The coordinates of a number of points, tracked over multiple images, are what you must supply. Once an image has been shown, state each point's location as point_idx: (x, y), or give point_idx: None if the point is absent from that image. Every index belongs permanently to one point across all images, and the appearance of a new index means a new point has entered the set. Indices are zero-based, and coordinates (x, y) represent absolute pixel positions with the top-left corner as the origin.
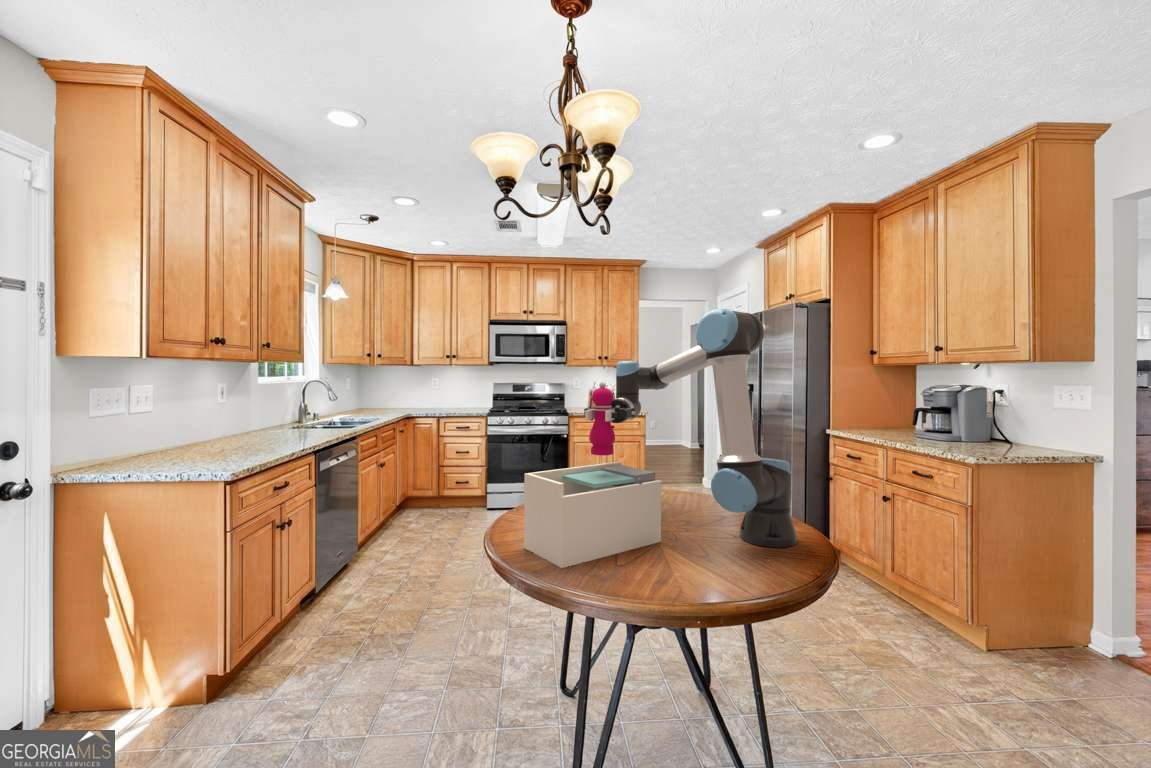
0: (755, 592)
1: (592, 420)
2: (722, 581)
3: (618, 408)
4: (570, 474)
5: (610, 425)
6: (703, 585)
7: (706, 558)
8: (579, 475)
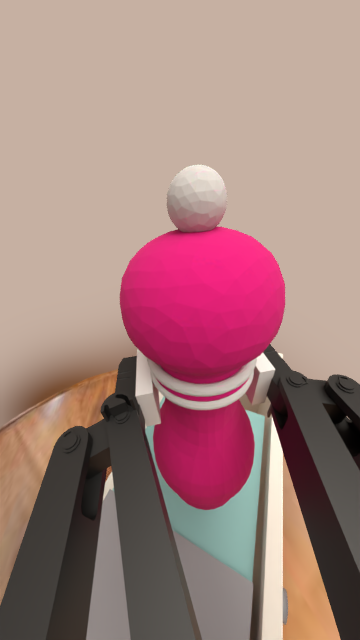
0: (8, 433)
1: (267, 412)
2: (33, 444)
3: (108, 401)
4: (262, 435)
5: (162, 411)
6: (57, 423)
7: (25, 529)
8: None
